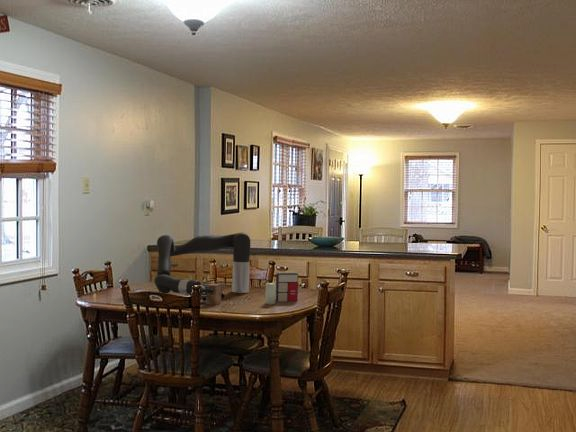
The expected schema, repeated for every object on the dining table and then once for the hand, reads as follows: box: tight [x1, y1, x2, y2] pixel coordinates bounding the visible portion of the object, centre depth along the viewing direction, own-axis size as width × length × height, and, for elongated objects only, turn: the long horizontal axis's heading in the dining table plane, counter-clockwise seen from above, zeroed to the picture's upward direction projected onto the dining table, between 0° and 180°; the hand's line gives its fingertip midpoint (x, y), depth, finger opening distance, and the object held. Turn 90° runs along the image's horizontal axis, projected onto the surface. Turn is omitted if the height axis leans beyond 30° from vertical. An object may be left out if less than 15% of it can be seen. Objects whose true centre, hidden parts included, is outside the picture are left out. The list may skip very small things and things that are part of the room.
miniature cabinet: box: [275, 272, 299, 302], centre depth 341 cm, size 11×4×15 cm, turn 105°
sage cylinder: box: [264, 282, 276, 306], centre depth 330 cm, size 5×5×10 cm
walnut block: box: [206, 283, 222, 306], centre depth 325 cm, size 5×5×10 cm
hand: (217, 290), depth 325 cm, fingers open, 8 cm apart
